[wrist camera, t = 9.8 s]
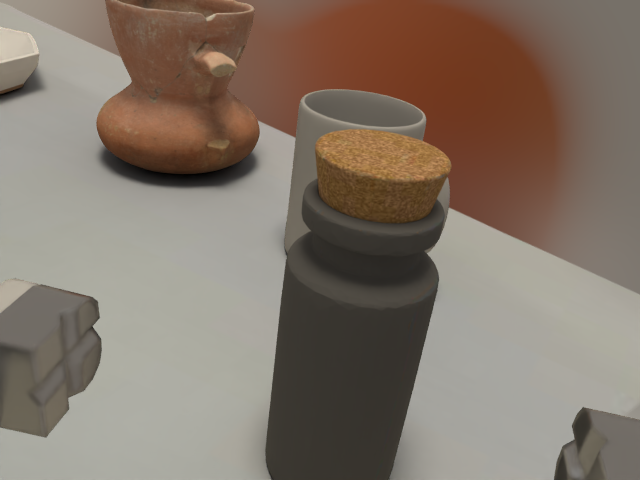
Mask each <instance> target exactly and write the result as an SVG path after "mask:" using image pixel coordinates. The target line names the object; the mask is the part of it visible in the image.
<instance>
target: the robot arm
mask: <svg viewBox="0 0 640 480" xmlns="http://www.w3.org/2000/svg"><path fill="white" fill-rule="evenodd" d="M99 318H100V316H99V307H98V302H97V301H96V300H95V299H94V298H93V297H90V296H86V295H82V294H78V293H74V292H70V291H66V290H62V289H58V288H54V287H50V286H46V285H42V284H41V285H39V284H36V283H32V282H28V281H24V280H20V279H8V280H5V281H4V282H3V283H1V284H0V427H1V428H5V429H10V430H14V431H19V432H23V433H28V434H32V435H36V436H41V437H45V438H46V437H47V436H48V434H49V433H50V432H51V431H52V430H53V428H54V427H55V426H56V425H57V423H58V422H59V421H60V420H61V419H62V417H63V416H64V415H65V414H66V412H67V411H68V410H69V402H68V398H69V397H71V396H73V395H76V394H78V393H80V392H82V391H84V390H85V389H86V387H87V386H88V385H89V383H90V382H91V381H92V380H93V378H94V375H95V373H96V371H97V368H98V366H99V364H100V358H101V351H102V347H101V338H100V337H99V335H98V334H97V332H96V331H95V330H94V328H93V327H92V326H93V325H94V324H95V323H96V322H97V320H98V319H99ZM572 428H573V433H574V438H575V440H573V441H571V442H569V443H567V444H566V445H564V446H563V447H562V450H561V452H560V455H559V457H558V460H557V464H556V470H555V476H554V480H640V420H639V419H634V418H630V417H625V416H621V415H616V414H612V413H607V412H603V411H598V410H593V409H589V408H584V407H583V408H582V409H581V410H580V411H579V412H578V413H577V415H576V417H575V420H574V422H573V424H572Z"/></svg>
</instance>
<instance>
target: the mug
mask: <svg viewBox="0 0 640 480" xmlns="http://www.w3.org/2000/svg"><path fill="white" fill-rule="evenodd" d="M425 126H426V117H425V114H424V113H423V112H422V111H421V110H420V109H418V108H417V107H415V106H413V105H411V104H409V103H407V102H405V101H402V100H399V99H396V98H392V97H389V96H385V95H381V94H376V93H371V92H363V91H356V90H322V91H316V92H312V93H309V94H307V95H305V96H304V97H303V98H302V99H301V102H300V105H299V113H298V122H297V133H296V141H295V151H294V160H293V170H292V179H291V189H290V198H289V207H288V215H287V222H286V229H285V249H286V252H287V254H288V251H289V249H290V247H291V246H292V244H293V243H294V242H295V241H296V240H297V239H298V238H300V237H301V236H303V235H304V234H306V233H307V232H309V231H311V230H310V229H309V228H308V227H307V226H306V224H305V223H304V221H303V218H302V214H301V212H302V201H303V194H304V190H305V188H306V187H307V185H308V184H309V183H310V182H312V181H313V180H315V179H317V168H316V156H315V144H316V142H317V140H318V139H319V138H320V137H321V136H323V135H325V134H328V133H331V132H334V131H341V130H349V129H367V130H379V131H385V132H391V133H397V134H401V135H405V136H408V137H412V138H415V139H418V140H421V141H423V136H424V131H425ZM449 189H450V187H449V181H448V178H447V179H446V181H445V183H444V185H443V187H442V189H441V191H440V193H439V195H438V197H437V200H438V201H439V202H440V203H441V205H442V206H443V208H444V212H445V219H444V223H443V228H444V225H445V222H446V218H447V213H448V208H449V199H450V190H449ZM443 228H442V231H443ZM441 233H442V232H441ZM434 246H435V245H434ZM434 246H432V247H431V248H429V249H427V250H425V252H426V253H428V252H429V251H430V250H431V249H432V248H433V247H434Z"/></svg>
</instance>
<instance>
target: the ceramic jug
mask: <svg viewBox="0 0 640 480" xmlns="http://www.w3.org/2000/svg"><path fill="white" fill-rule="evenodd" d="M105 2H106V8H107V14H108V18H109V22H110V27H111V29H112V33H113V36H114V39H115V42H116V45H117V48H118V50H119V53H120V55H121V58H122V60H123V62H124V65H125V67H126V69H127V71H128V73H129V75H130V77H131V80H132V83H131V84H130V85H129V86H127V87H126V88H125V89H124V90H122V91H121V92H119V93H118V94H116V95H115V96H113V97H112V98H110V99H109V100H108V101H107V102H106V103H105V104H104V105H103V107H102V108H101V110H100V112H99V114H98V117H97V130H98V134H99V137H100V139H101V141H102V142H103V144H104V145H105V147H106V148H107V149H108V150H109V151H110V152H112V153H113V154H114V155H115V156H117V157H118V158H120V159H122V160H124V161H126V162H128V163H130V164H132V165H135V166H137V167H140V168H143V169H147V170H151V171H155V172H161V173H170V174H196V173H205V172H212V171H216V170H220V169H223V168H226V167H229V166H231V165H234V164H236V163H238V162H239V161H241V160H242V159H244V158H245V157H246V156H248V155H249V154H250V153H251V152H252V150H253V149H254V147H255V145H256V143H257V141H258V138H259V132H260V131H259V125H258V121H257V119H256V117H255V116H254V114H253V113H252V111H251V110H250V109H249V108H248V107H247V106H246V105H245V104H243V103H242V102H241V101H240V100H238V99H237V98H236V97H235V96H233V95H232V94H231V93H230V92H229V91H228V89H227V86H228V84H229V82H230V80H231V78H232V76H233V74H234V72H235V70H236V68H237V66H238V63H239V61H240V59H241V56H242V53H243V51H244V48H245V46H246V43H247V40H248V37H249V34H250V31H251V27H252V23H253V17H254V8H253V7H252V6H251V5H249V4H245V3H240V2H237V1H235V0H105Z"/></svg>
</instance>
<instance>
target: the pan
mask: <svg viewBox="0 0 640 480" xmlns="http://www.w3.org/2000/svg"><path fill="white" fill-rule="evenodd" d="M38 61H39V51H38V47H37V44H36V42H35V40H34V39H33V37H32V35H31V34H30V33H26V32H21V31H17V30H12V29H7V28H2V27H0V94H2V93H5V92H8V91H11V90H14V89H17V88H20V87H23V84H24V82H25V81H26V80H27V79H28V77H29V76H30V75H31V74H32V72H33V71H34V70H35V69H36V67H37V66H38Z"/></svg>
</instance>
